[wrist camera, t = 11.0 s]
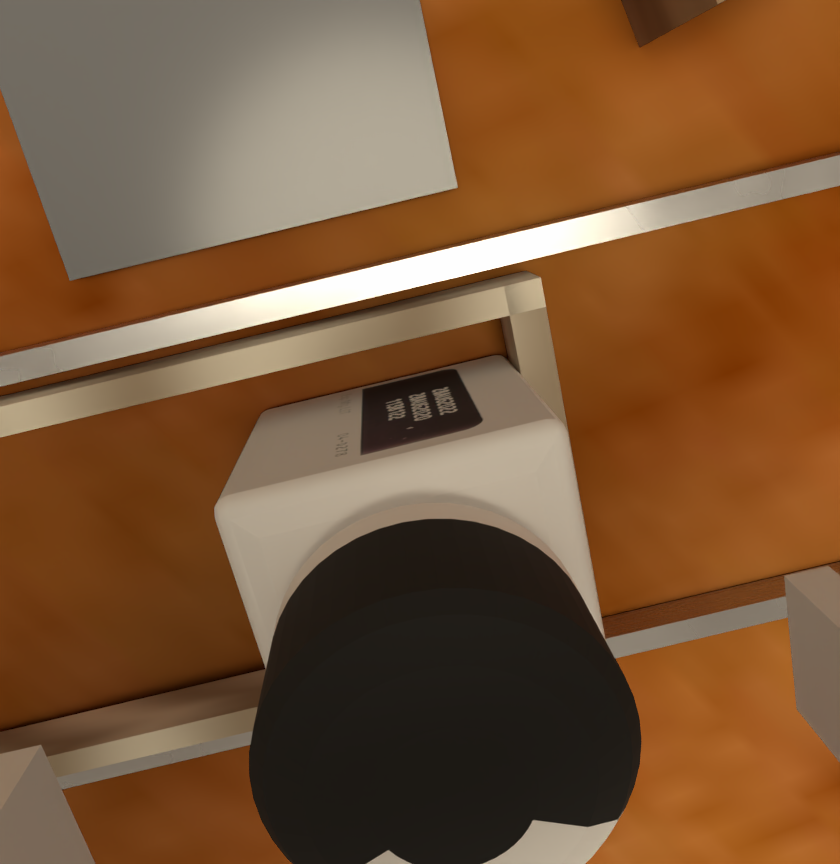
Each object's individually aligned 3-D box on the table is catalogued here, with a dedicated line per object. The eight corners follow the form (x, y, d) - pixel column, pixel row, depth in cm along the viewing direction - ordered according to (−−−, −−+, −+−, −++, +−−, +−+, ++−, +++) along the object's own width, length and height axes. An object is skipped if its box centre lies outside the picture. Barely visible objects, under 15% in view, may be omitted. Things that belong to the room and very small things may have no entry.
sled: (-85, 773, 26) (-309, 1058, 17) (-250, 456, 23) (-631, 615, 14) (589, 613, 26) (699, 820, 17) (526, 270, 22) (624, 315, 14)
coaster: (77, 278, 22) (69, 280, 21) (-84, -172, 19) (-99, -184, 18) (455, 188, 22) (457, 187, 21) (359, -280, 19) (359, -295, 18)
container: (256, 409, 23) (130, 649, 11) (505, 349, 23) (662, 522, 11) (323, 627, 26) (281, 1030, 13) (549, 573, 26) (721, 927, 13)
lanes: (53, 768, 26) (39, 794, 25) (-122, 381, 22) (-149, 391, 21) (958, 554, 26) (985, 570, 25) (950, 125, 22) (981, 120, 21)
